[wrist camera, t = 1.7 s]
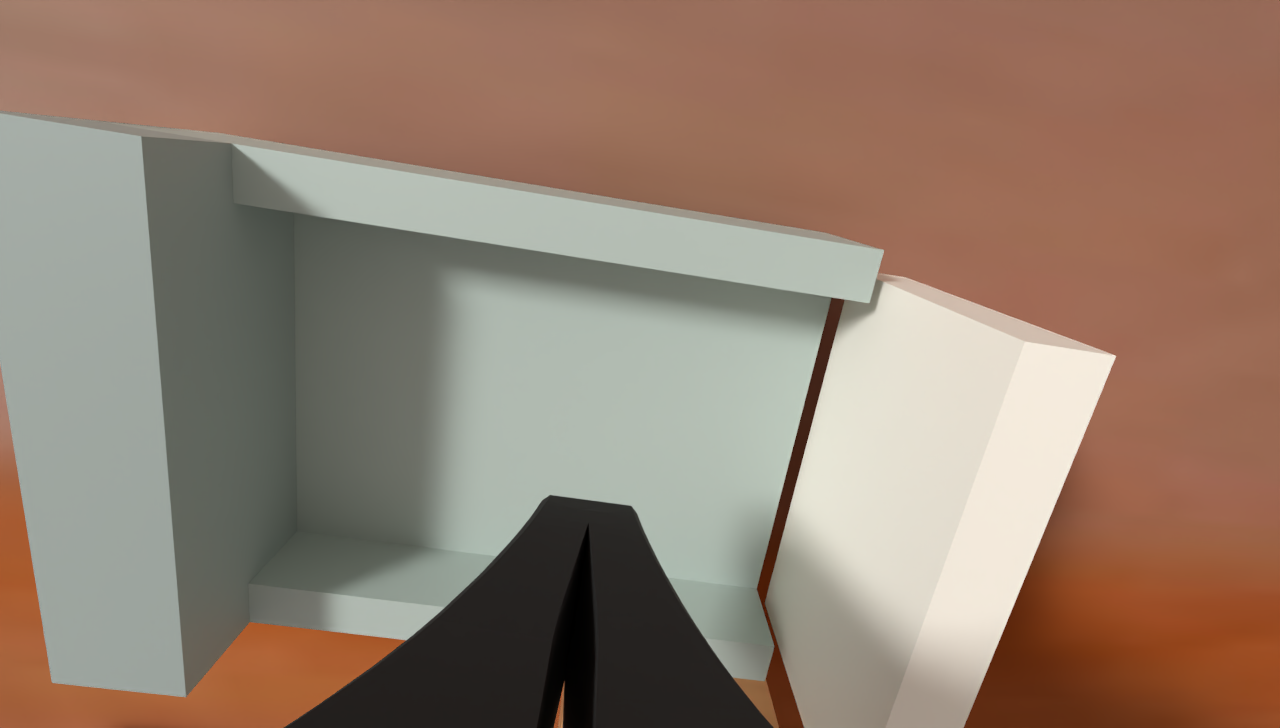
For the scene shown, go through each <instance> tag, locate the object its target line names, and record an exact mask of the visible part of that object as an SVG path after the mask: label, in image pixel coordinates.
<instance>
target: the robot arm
mask: <svg viewBox="0 0 1280 728" xmlns="http://www.w3.org/2000/svg"><path fill="white" fill-rule="evenodd" d="M563 684H564V703H563V728H774V727H773V726H772V725H771V724H770V723H769V722H768V721H767V719H766V718H765V717H764V716H763V715H762V714H761V712H760V711H759V710H758V709H757V708H756V706H755V705H754V704H753V703H752V701H751V700H750V699H749V698H748V696H747V695H746V694H745V693H744V691H743V690H742V689H741V688H740V686H739V685H738V684H737V682H736V681H735V680H734V679H733V677H732V676H731V674H730V673H729V672H728V670H727V669H726V668H725V666H724V665H723V664H722V662H721V661H720V659H719V658H718V657H717V655H716V654H715V652H714V651H713V650H712V648H711V647H710V645H709V644H708V642H707V641H706V639H705V638H704V636H703V635H702V633H701V632H700V630H699V629H698V627H697V626H696V624H695V623H694V621H693V620H692V618H691V616H690V615H689V613H688V612H687V610H686V608H685V607H684V605H683V603H682V602H681V600H680V598H679V597H678V595H677V593H676V591H675V590H674V588H673V586H672V584H671V583H670V581H669V579H668V577H667V576H666V574H665V572H664V570H663V568H662V566H661V565H660V563H659V561H658V559H657V557H656V555H655V553H654V551H653V549H652V547H651V545H650V543H649V541H648V538H647V536H646V534H645V532H644V529H643V527H642V525H641V522H640V520H639V517H638V514H637V513H636V511H635V510H634V509H633V507H632V506H630V505H622V504H615V503H607V502H600V501H592V500H585V499H577V498H570V497H562V496H555V495H549V496H548V497H546V498H545V499H543V500H542V501H541V502H540V504H539V506H538V507H537V509H536V510H535V512H534V513H533V514H532V516H531V517H530V518H529V520H528V521H527V522H526V523H525V525H524V526H523V527H522V528H521V530H520V531H519V532H518V533H517V534H516V536H515V537H514V538H513V539H512V540H511V541H510V543H509V544H508V545H507V546H506V547H505V548H504V549H503V550H502V551H501V552H500V553H499V554H498V556H497V557H496V558H495V559H494V560H493V561H492V562H491V563H490V564H489V565H488V566H487V567H486V569H485V570H484V571H483V572H482V573H481V574H480V575H479V576H478V577H477V578H476V579H475V580H474V581H472V582H471V583H470V584H469V585H468V586H467V587H466V588H465V589H464V590H463V591H462V592H461V593H460V594H459V595H458V596H456V597H455V598H454V599H453V600H452V601H451V602H450V603H449V604H448V605H447V606H446V607H445V608H444V609H443V610H442V611H440V612H439V613H438V614H437V615H436V616H435V617H434V618H432V619H431V620H430V621H429V622H428V623H427V624H425V625H424V626H423V627H422V628H421V629H420V630H418V631H417V632H416V633H415V634H414V635H412V636H411V637H410V638H409V639H407V640H406V641H405V642H404V643H402V644H401V645H400V646H399V647H397V648H396V649H395V650H393V651H392V652H391V653H390V654H388V655H387V656H386V657H384V658H383V659H382V660H381V661H379V662H378V663H377V664H375V665H374V666H373V667H371V668H370V669H369V670H367V671H366V672H364V673H363V674H362V675H360V676H359V677H357V678H356V679H354V680H353V681H352V682H350V683H349V684H347V685H346V686H345V687H343V688H342V689H340V690H339V691H337V692H336V693H335V694H333V695H332V696H330V697H329V698H327V699H326V700H325V701H323V702H322V703H320V704H319V705H318V706H316V707H315V708H313V709H312V710H310V711H308V712H307V713H305V714H304V715H302V716H301V717H299V718H298V719H296V720H295V721H293V722H292V723H290V724H289V725H287V726H286V727H284V728H553V727H554V723H555V718H556V714H557V710H558V705H559V701H560V697H561V692H562V688H563Z"/></svg>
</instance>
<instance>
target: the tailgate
mask: <svg viewBox="0 0 1280 728" xmlns="http://www.w3.org/2000/svg"><path fill="white" fill-rule="evenodd" d="M1115 358H1116V356H1115V355H1113V354H1110V353H1107V352H1105V351H1102V350H1099V349H1097V348H1094V347H1091V346H1088V345H1086V344H1083V343H1080V342H1078V341H1075V340H1072V339H1070V338H1067V337H1064V336H1062V335H1059V334H1056V333H1054V332H1051V331H1048V330H1046V329H1043V328H1040V327H1037V326H1035V325H1032V324H1029V323H1027V322H1024V321H1021V320H1019V319H1016V318H1013V317H1011V316H1008V315H1005V314H1003V313H1000V312H997V311H994V310H992V309H989V308H986V307H984V306H981V305H978V304H976V303H973V302H970V301H968V300H965V299H962V298H960V297H957V296H954V295H952V294H949V293H946V292H943V291H941V290H938V289H935V288H933V287H930V286H927V285H925V284H922V283H919V282H917V281H914V280H911V279H909V278H906V277H900V276H894V275H888V274H881V273H878V274H877V278H876V281H875V285H874V289H873V292H872V296H871V299H870V303H864V302H858V301H851V300H844V304H843V308H842V312H841V316H840V319H839V323H838V327H837V331H836V334H835V338H834V342H833V346H832V350H831V353H830V357H829V361H828V365H827V369H826V372H825V376H824V380H823V384H822V388H821V391H820V395H819V399H818V403H817V407H816V410H815V414H814V418H813V422H812V425H811V429H810V433H809V437H808V441H807V444H806V448H805V452H804V456H803V460H802V463H801V467H800V471H799V475H798V479H797V482H796V486H795V490H794V494H793V497H792V501H791V505H790V509H789V513H788V516H787V520H786V524H785V528H784V532H783V535H782V539H781V543H780V547H779V551H778V554H777V558H776V562H775V566H774V569H773V573H772V577H771V581H770V585H769V588H768V592H767V596H766V600H765V606H766V609H767V612H768V615H769V618H770V621H771V625H772V628H773V631H774V634H775V637H776V640H777V644H778V647H779V650H780V653H781V656H782V659H783V663H784V666H785V669H786V672H787V675H788V678H789V682H790V685H791V688H792V691H793V694H794V697H795V701H796V704H797V707H798V710H799V713H800V716H801V720H802V723H803V726H804V728H964V725H965V723H966V721H967V718H968V716H969V713H970V711H971V708H972V706H973V703H974V701H975V699H976V696H977V694H978V691H979V689H980V686H981V684H982V682H983V679H984V677H985V674H986V672H987V669H988V667H989V665H990V662H991V660H992V657H993V655H994V652H995V650H996V647H997V645H998V643H999V640H1000V638H1001V635H1002V633H1003V630H1004V628H1005V626H1006V623H1007V621H1008V618H1009V616H1010V613H1011V611H1012V608H1013V606H1014V604H1015V601H1016V599H1017V596H1018V594H1019V591H1020V589H1021V587H1022V584H1023V582H1024V579H1025V577H1026V574H1027V572H1028V569H1029V567H1030V565H1031V562H1032V560H1033V557H1034V555H1035V552H1036V550H1037V548H1038V545H1039V543H1040V540H1041V538H1042V535H1043V533H1044V531H1045V528H1046V526H1047V523H1048V521H1049V518H1050V516H1051V513H1052V511H1053V509H1054V506H1055V504H1056V501H1057V499H1058V496H1059V494H1060V492H1061V489H1062V487H1063V484H1064V482H1065V479H1066V477H1067V474H1068V472H1069V470H1070V467H1071V465H1072V462H1073V460H1074V457H1075V455H1076V453H1077V450H1078V448H1079V445H1080V443H1081V440H1082V438H1083V436H1084V433H1085V431H1086V428H1087V426H1088V423H1089V421H1090V418H1091V416H1092V414H1093V411H1094V409H1095V406H1096V404H1097V401H1098V399H1099V397H1100V394H1101V392H1102V389H1103V387H1104V384H1105V382H1106V379H1107V377H1108V375H1109V372H1110V370H1111V367H1112V365H1113V362H1114V360H1115Z"/></svg>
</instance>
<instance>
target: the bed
mask: <svg viewBox="0 0 1280 728" xmlns="http://www.w3.org/2000/svg"><path fill="white" fill-rule="evenodd" d="M883 252H884V250H882V249H878V248H875V247H872V246H868V245H865V244H862V243H858V242H855V241H851V240H848V239H845V238H841V237H838V236H835V235H831V234H828V233H824V232H818V231H812V230H806V229H800V228H794V227H788V226H782V225H775V224H769V223H763V222H757V221H751V220H745V219H739V218H733V217H727V216H721V215H715V214H709V213H703V212H696V211H690V210H684V209H678V208H672V207H666V206H660V205H654V204H648V203H642V202H636V201H630V200H624V199H617V198H611V197H605V196H599V195H593V194H587V193H581V192H575V191H569V190H563V189H557V188H551V187H545V186H538V185H532V184H526V183H520V182H514V181H508V180H502V179H496V178H490V177H484V176H478V175H472V174H466V173H459V172H453V171H447V170H441V169H435V168H429V167H423V166H417V165H411V164H405V163H399V162H393V161H387V160H380V159H374V158H368V157H362V156H356V155H350V154H344V153H338V152H332V151H326V150H320V149H314V148H308V147H301V146H295V145H289V144H283V143H277V142H271V141H265V140H259V139H253V138H247V137H241V136H235V135H228V134H222V133H215V132H205V131H195V130H185V129H175V128H165V127H155V126H145V125H136V124H126V123H116V122H106V121H96V120H86V119H76V118H66V117H56V116H47V115H37V114H27V113H17V112H7V111H0V364H1V370H2V377H3V383H4V389H5V395H6V401H7V408H8V414H9V420H10V426H11V432H12V439H13V445H14V451H15V457H16V463H17V469H18V476H19V482H20V488H21V494H22V500H23V507H24V513H25V519H26V525H27V531H28V537H29V544H30V550H31V556H32V562H33V568H34V575H35V581H36V587H37V593H38V599H39V606H40V612H41V618H42V624H43V630H44V636H45V643H46V649H47V655H48V661H49V667H50V674H51V680H52V683H59V684H68V685H77V686H87V687H96V688H105V689H115V690H124V691H133V692H143V693H152V694H161V695H171V696H180V697H187V695H188V694H189V693H190V692H191V691H192V689H193V688H194V687H195V686H196V685H197V684H198V682H199V681H200V680H201V679H202V678H203V676H204V675H205V674H206V673H207V672H208V671H209V669H210V668H211V667H212V666H213V665H214V664H215V662H216V661H217V660H218V659H219V658H220V656H221V655H222V654H223V653H224V652H225V651H226V649H227V648H228V647H229V646H230V645H231V643H232V642H233V641H234V640H235V639H236V638H237V636H238V635H239V634H240V633H241V632H242V630H243V629H244V628H245V627H246V626H247V625H248V623H249V622H255V623H264V624H272V625H281V626H290V627H298V628H307V629H316V630H324V631H333V632H342V633H350V634H359V635H368V636H376V637H385V638H394V639H402V640H407V639H409V638H410V637H411V636H412V635H414V634H415V633H416V632H417V631H418V630H420V629H421V628H422V627H423V626H424V625H425V624H427V623H428V622H429V621H430V620H431V619H432V618H434V617H435V616H436V615H437V614H438V613H439V612H440V611H442V610H443V609H444V608H445V607H446V606H447V605H448V604H449V603H450V602H451V601H452V600H453V599H454V598H455V597H456V596H458V595H459V594H460V593H461V592H462V591H463V590H464V589H465V588H466V587H467V586H468V585H469V584H470V583H471V582H472V581H474V580H475V579H476V578H477V577H478V576H479V575H480V574H481V573H482V572H483V571H484V570H485V569H486V567H487V566H488V565H489V564H490V563H491V562H492V561H493V560H494V559H495V558H496V557H497V556H498V554H499V553H500V552H501V551H502V550H503V549H504V548H505V547H506V546H507V545H508V544H509V543H510V541H511V540H512V539H513V538H514V537H515V536H516V534H517V533H518V532H519V531H520V530H521V528H522V527H523V526H524V525H525V523H526V522H527V521H528V520H529V518H530V517H531V516H532V514H533V513H534V512H535V510H536V509H537V507H538V506H539V504H540V502H541V501H542V500H543V499H545V498H546V497H548V496H549V495H555V496H562V497H570V498H577V499H585V500H592V501H600V502H607V503H615V504H622V505H630V506H632V507H633V509H634V510H635V511H636V513H637V514H638V517H639V520H640V522H641V525H642V527H643V529H644V532H645V534H646V536H647V538H648V541H649V543H650V545H651V547H652V549H653V551H654V553H655V555H656V557H657V559H658V561H659V563H660V565H661V566H662V568H663V570H664V572H665V574H666V576H667V577H668V579H669V581H670V583H671V584H672V586H673V588H674V590H675V591H676V593H677V595H678V597H679V598H680V600H681V602H682V603H683V605H684V607H685V608H686V610H687V612H688V613H689V615H690V616H691V618H692V620H693V621H694V623H695V624H696V626H697V627H698V629H699V630H700V632H701V633H702V635H703V636H704V638H705V639H706V641H707V642H708V644H709V645H710V647H711V648H712V650H713V651H714V652H715V654H716V655H717V657H718V658H719V659H720V661H721V662H722V664H723V665H724V666H725V668H726V669H727V670H728V672H729V673H730V674H731V676H732V677H733V678H741V679H749V680H758V681H765V679H766V675H767V672H768V668H769V664H770V661H771V657H772V654H773V650H774V643H773V640H772V637H771V634H770V630H769V627H768V624H767V621H766V617H765V614H764V611H763V608H762V604H761V601H760V598H759V595H758V591H757V586H758V582H759V578H760V574H761V570H762V566H763V562H764V559H765V555H766V551H767V547H768V543H769V539H770V535H771V531H772V527H773V524H774V520H775V516H776V512H777V508H778V504H779V500H780V496H781V492H782V488H783V485H784V481H785V477H786V473H787V469H788V465H789V461H790V457H791V453H792V450H793V446H794V442H795V438H796V434H797V430H798V426H799V422H800V418H801V415H802V411H803V407H804V403H805V399H806V395H807V391H808V387H809V383H810V380H811V376H812V372H813V368H814V364H815V360H816V356H817V352H818V348H819V345H820V341H821V337H822V333H823V329H824V325H825V321H826V317H827V313H828V310H829V306H830V302H831V298H839V299H845V300H851V301H858V302H864V303H870V299H871V296H872V292H873V289H874V285H875V281H876V278H877V274H878V270H879V267H880V263H881V260H882V256H883Z"/></svg>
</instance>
